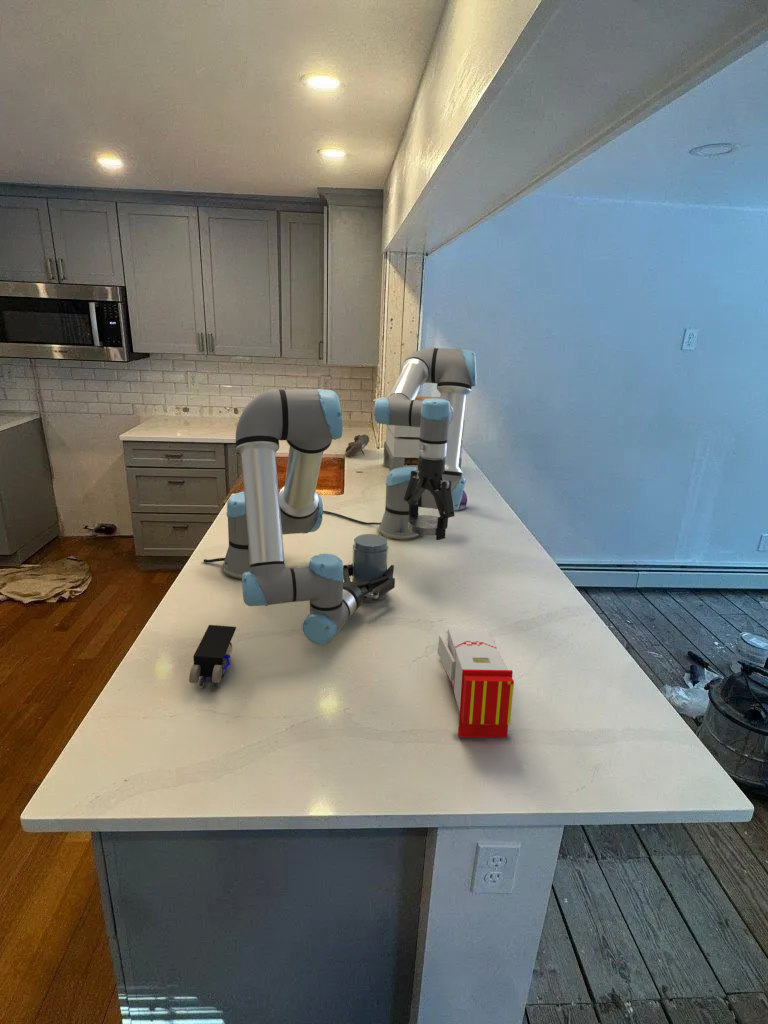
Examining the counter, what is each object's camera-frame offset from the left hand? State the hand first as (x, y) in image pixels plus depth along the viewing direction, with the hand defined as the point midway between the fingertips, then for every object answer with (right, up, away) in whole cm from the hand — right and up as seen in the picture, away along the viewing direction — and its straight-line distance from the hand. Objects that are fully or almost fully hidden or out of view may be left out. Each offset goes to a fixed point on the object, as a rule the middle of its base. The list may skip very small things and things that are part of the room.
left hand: (375, 566), depth 159 cm
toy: (+20, -22, -41) cm, 51 cm away
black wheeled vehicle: (-34, -19, -38) cm, 54 cm away
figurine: (+32, +17, +70) cm, 79 cm away
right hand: (+15, +9, +2) cm, 17 cm away
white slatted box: (+20, +34, +116) cm, 122 cm away
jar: (-2, -7, -2) cm, 8 cm away
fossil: (-12, +47, +147) cm, 155 cm away
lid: (+15, +12, +1) cm, 19 cm away
